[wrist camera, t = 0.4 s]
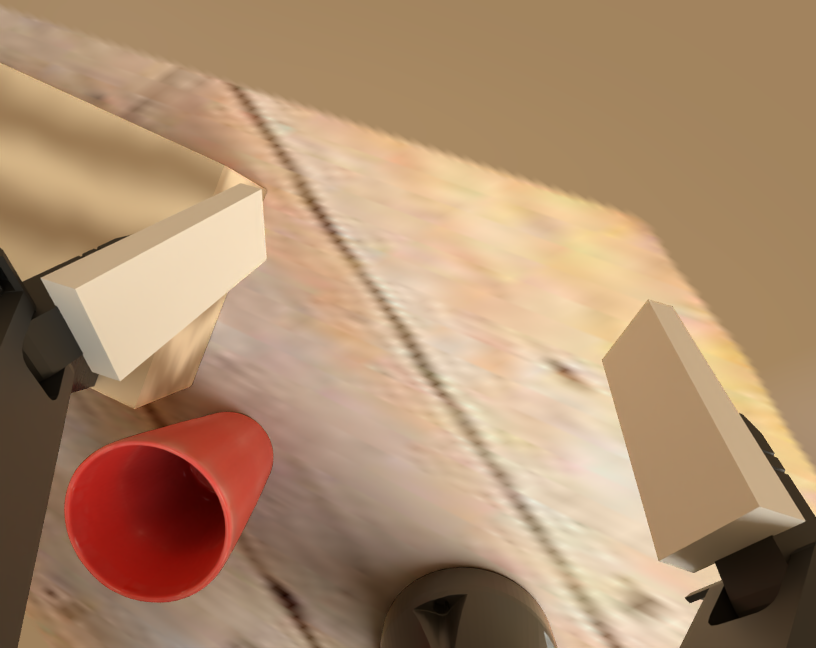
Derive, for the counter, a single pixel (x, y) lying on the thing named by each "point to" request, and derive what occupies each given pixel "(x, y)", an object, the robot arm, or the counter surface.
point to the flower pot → (167, 504)
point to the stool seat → (98, 204)
